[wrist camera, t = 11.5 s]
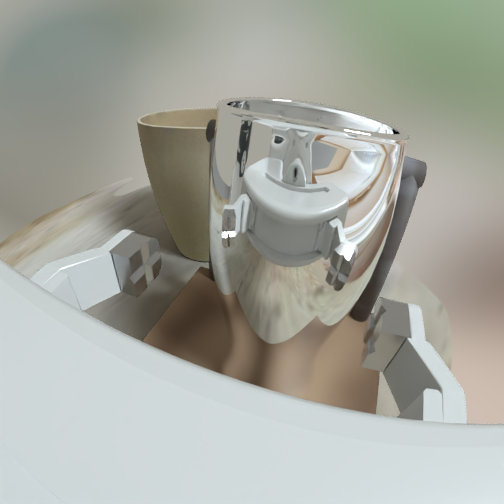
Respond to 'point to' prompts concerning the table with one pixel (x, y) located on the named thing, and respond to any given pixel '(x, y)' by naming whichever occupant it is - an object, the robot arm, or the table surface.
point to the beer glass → (295, 229)
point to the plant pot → (180, 173)
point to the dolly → (338, 347)
